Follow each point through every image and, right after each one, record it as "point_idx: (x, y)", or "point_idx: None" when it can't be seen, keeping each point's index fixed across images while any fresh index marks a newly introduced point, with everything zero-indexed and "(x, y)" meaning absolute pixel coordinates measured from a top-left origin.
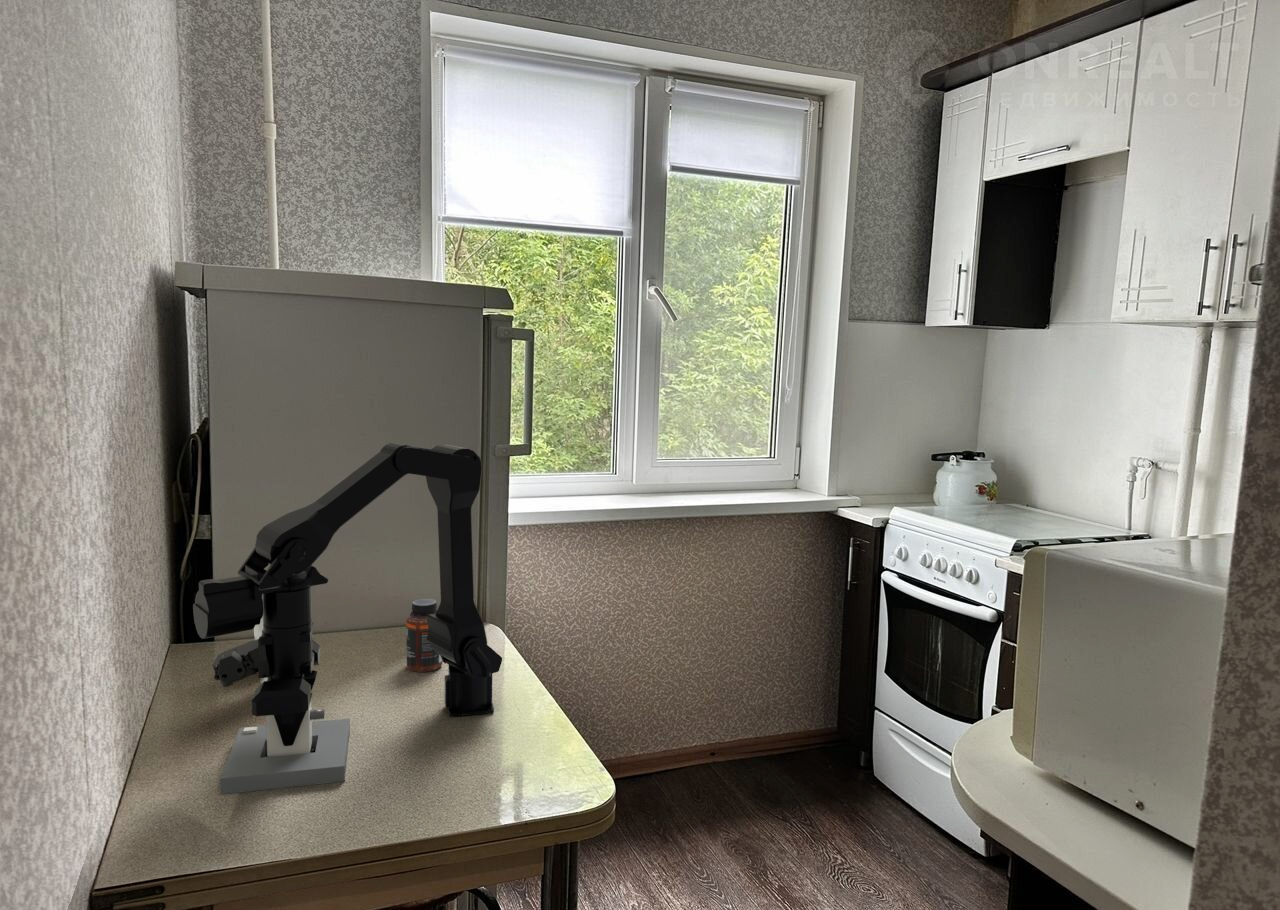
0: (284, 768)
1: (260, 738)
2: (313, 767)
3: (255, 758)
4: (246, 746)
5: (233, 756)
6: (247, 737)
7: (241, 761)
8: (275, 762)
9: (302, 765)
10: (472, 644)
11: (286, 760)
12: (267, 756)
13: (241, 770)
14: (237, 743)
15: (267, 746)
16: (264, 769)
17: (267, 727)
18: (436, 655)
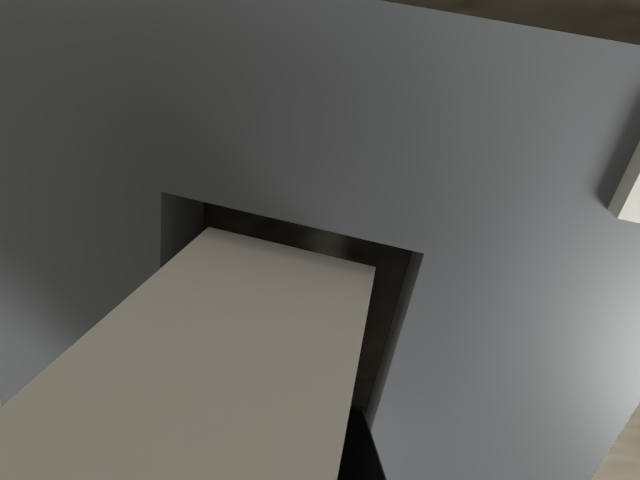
0: (13, 291)
1: (467, 226)
2: (14, 394)
3: (158, 165)
4: (368, 119)
5: (226, 14)
6: (548, 136)
7: (132, 73)
8: (83, 263)
9: (36, 363)
10: None
11: (97, 314)
12: (204, 232)
13: (8, 69)
14: (467, 49)
15: (168, 262)
16: (10, 200)
17: (65, 355)
18: None
